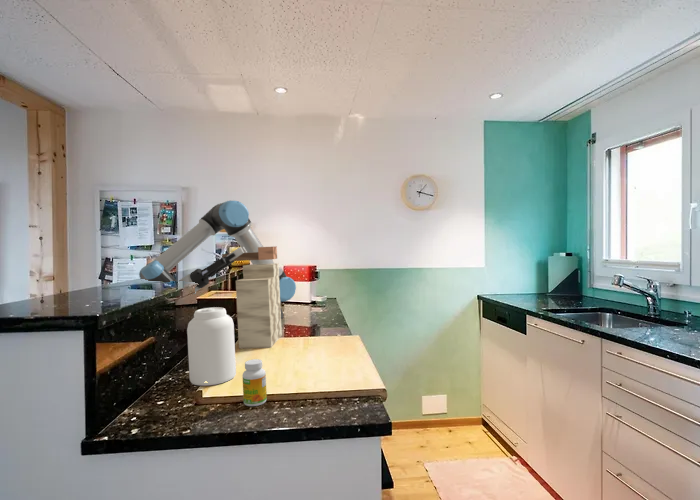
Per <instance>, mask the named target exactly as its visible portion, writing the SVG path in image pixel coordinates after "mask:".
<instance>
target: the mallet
mask: <svg viewBox="0 0 700 500" xmlns="http://www.w3.org/2000/svg"><path fill="white" fill-rule="evenodd" d="M277 250H278V249H277V246H276V245H275V246H274V245H273V246H263V247H258V252H252V253H243V254H242V255H240V256H238V257H237V258H235V259H234V260H232V261H234V262H239V261H241V262H242V261H245V262H246V261H250V260H269V259H272V260H277V259H278V251H277ZM229 254H230V253H222V254H221V258H224V257H227V255H229Z"/></svg>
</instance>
